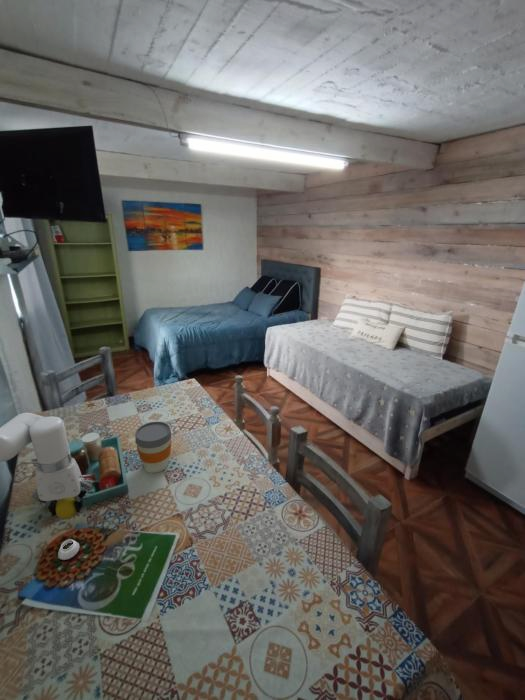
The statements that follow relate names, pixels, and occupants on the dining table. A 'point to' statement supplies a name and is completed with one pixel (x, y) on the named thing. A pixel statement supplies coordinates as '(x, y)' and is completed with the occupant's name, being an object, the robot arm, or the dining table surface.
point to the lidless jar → (68, 550)
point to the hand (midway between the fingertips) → (67, 510)
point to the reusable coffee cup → (154, 445)
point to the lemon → (65, 508)
